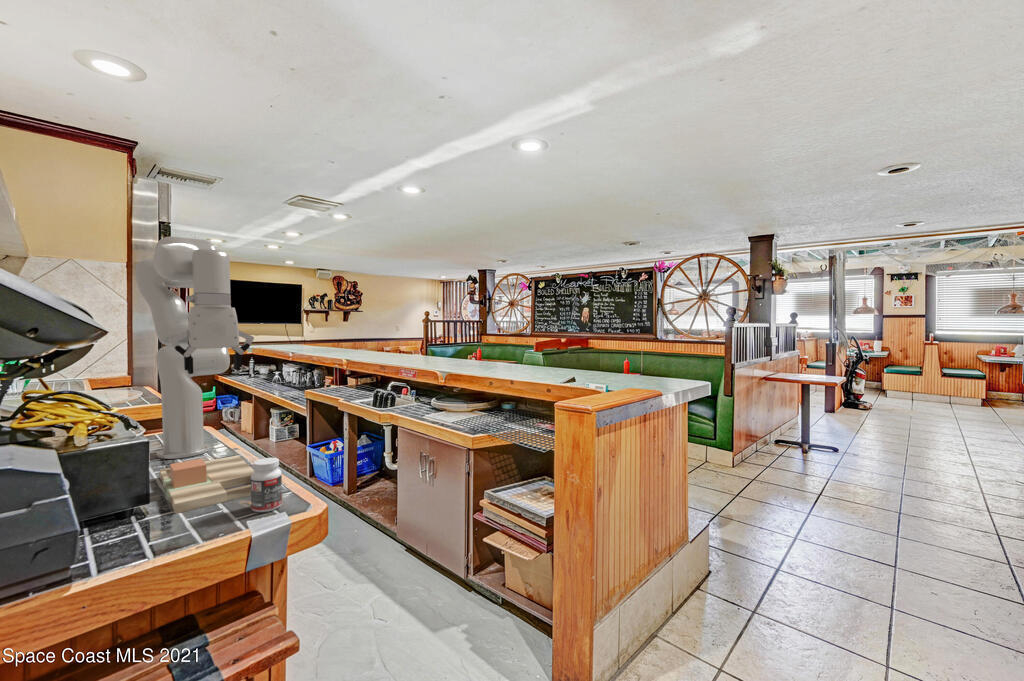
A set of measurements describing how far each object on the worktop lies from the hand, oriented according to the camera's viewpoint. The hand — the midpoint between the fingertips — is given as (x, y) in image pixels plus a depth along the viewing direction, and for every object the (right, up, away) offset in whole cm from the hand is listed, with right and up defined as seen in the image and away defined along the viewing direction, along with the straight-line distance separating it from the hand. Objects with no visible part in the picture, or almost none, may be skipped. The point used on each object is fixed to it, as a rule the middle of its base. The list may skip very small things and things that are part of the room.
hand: (214, 371), depth 110 cm
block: (-2, -25, -6) cm, 26 cm away
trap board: (+1, -27, -3) cm, 27 cm away
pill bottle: (+21, -28, -15) cm, 38 cm away
